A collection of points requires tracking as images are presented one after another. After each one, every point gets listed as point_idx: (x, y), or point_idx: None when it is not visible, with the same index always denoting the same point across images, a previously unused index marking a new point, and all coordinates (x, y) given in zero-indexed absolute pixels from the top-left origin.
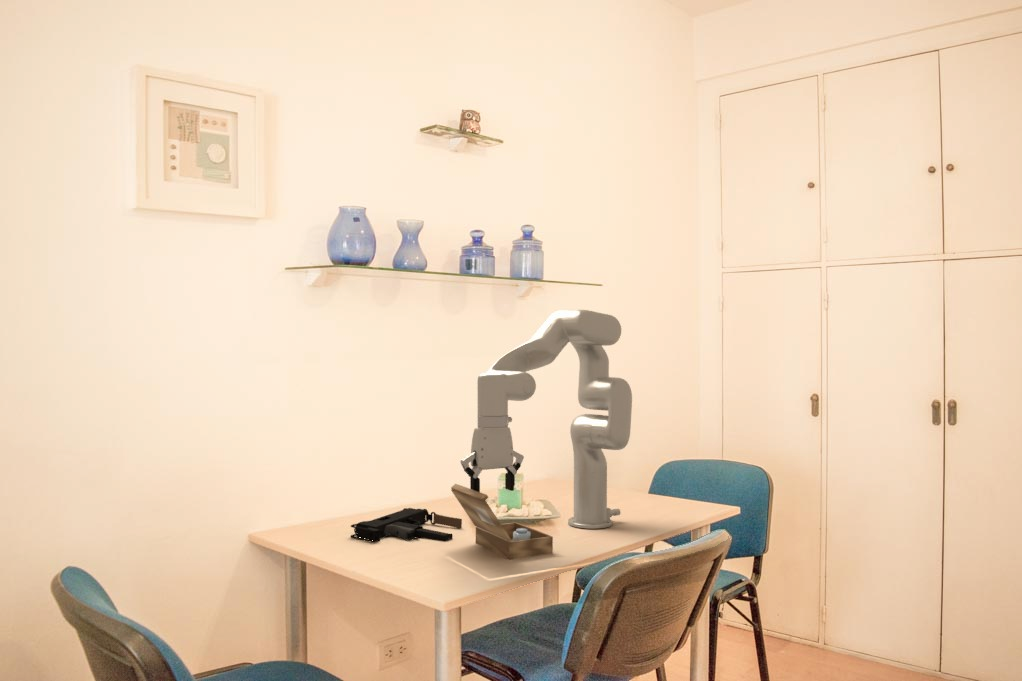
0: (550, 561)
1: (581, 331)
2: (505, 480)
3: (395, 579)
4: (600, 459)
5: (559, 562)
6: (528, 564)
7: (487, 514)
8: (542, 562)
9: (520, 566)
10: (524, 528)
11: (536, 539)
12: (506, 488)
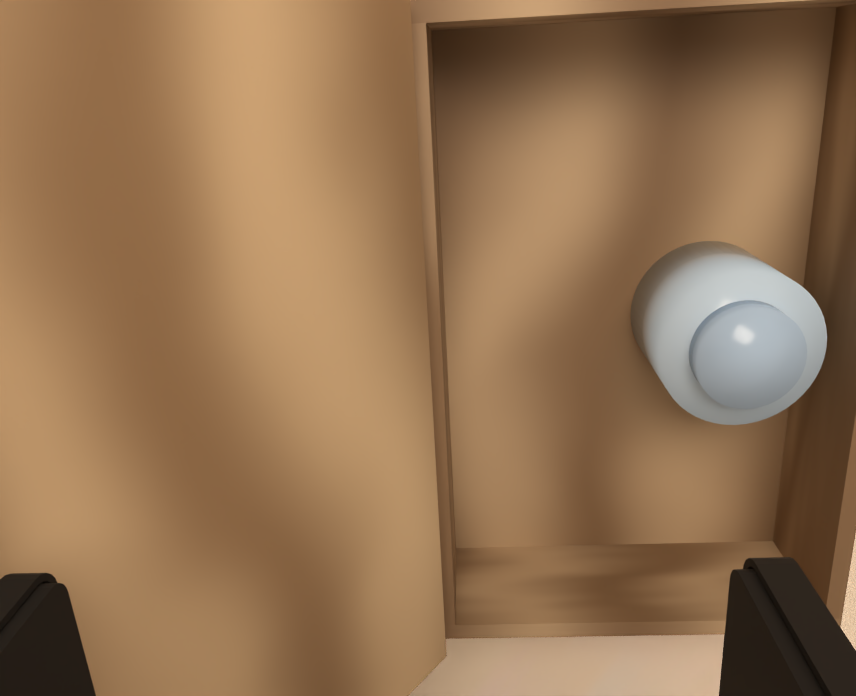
0: (673, 647)
1: None
2: (798, 686)
3: None
4: None
5: (707, 683)
6: (515, 643)
7: None
8: (616, 644)
9: (450, 656)
10: (799, 335)
11: (680, 630)
12: (730, 606)
